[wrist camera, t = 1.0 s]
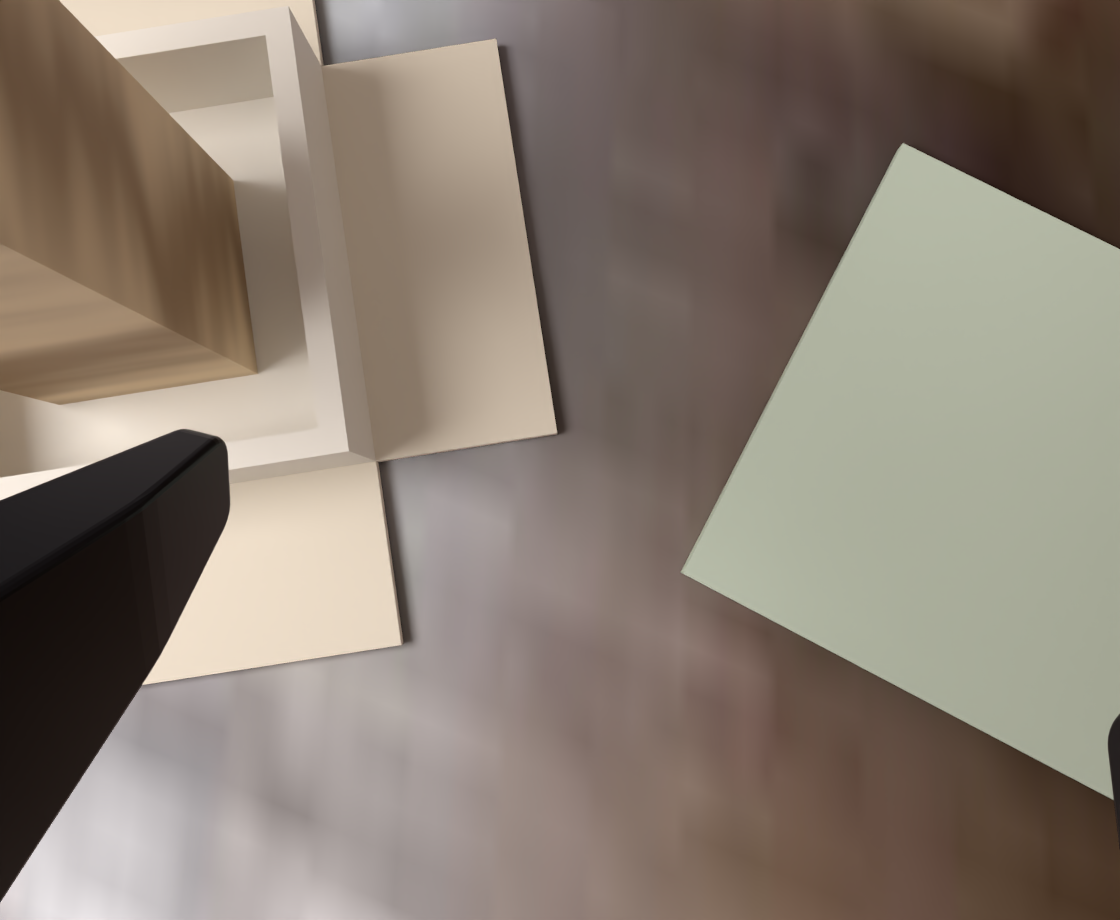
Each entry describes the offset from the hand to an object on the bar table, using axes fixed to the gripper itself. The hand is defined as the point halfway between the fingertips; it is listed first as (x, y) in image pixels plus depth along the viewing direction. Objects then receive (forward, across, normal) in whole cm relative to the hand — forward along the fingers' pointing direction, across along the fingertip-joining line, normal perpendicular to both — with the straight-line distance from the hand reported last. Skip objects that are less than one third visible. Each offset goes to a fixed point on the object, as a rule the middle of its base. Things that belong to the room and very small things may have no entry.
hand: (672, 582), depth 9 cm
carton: (+13, +13, +6) cm, 19 cm away
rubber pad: (+13, -9, +6) cm, 17 cm away
